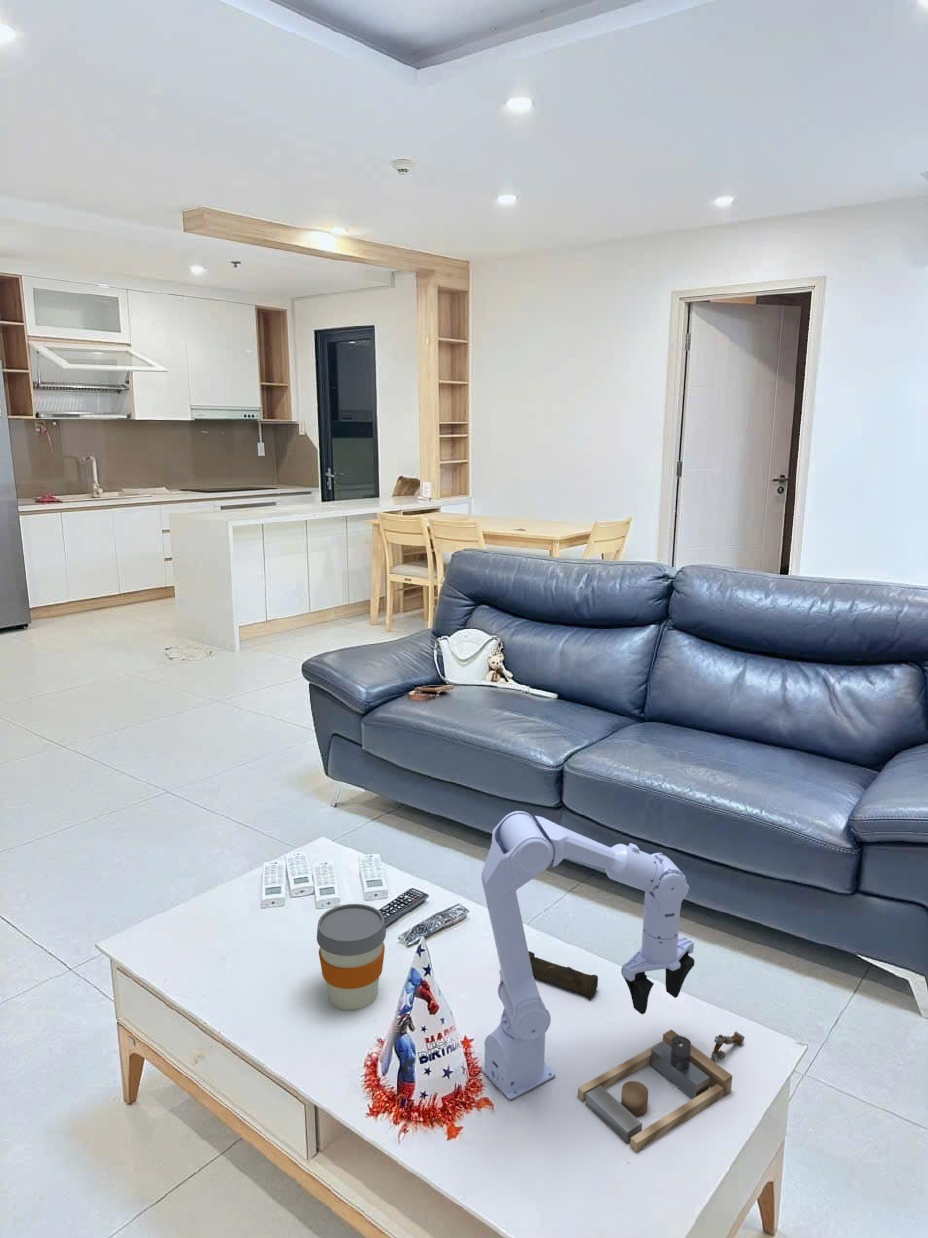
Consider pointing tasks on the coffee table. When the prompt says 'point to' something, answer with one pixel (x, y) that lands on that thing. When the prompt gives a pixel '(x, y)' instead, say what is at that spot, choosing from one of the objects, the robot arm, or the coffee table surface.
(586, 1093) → the vise frame
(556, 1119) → the coffee table surface
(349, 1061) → the coffee table surface
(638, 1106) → the brown wooden cylinder
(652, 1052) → the block
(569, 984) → the dark brown log
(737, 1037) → the jointed folding linkage
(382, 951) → the reusable coffee cup
